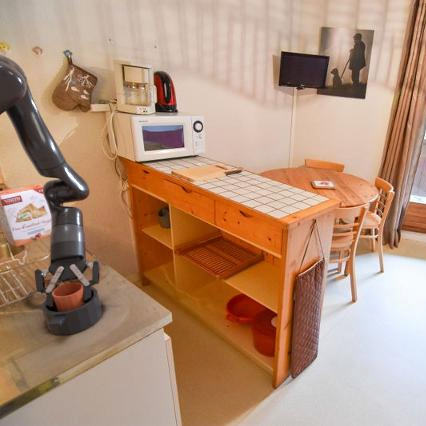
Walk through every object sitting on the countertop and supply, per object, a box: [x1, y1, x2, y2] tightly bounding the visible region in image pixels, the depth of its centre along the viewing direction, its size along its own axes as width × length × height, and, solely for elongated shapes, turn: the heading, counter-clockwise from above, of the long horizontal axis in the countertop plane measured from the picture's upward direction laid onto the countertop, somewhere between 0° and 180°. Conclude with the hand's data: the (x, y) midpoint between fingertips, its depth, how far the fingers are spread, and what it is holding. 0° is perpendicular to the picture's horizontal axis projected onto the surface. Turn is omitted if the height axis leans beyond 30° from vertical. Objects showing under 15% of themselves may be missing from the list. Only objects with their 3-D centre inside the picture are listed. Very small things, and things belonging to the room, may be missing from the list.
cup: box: [52, 281, 87, 312], centre depth 84 cm, size 6×6×9 cm
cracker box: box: [0, 183, 51, 248], centre depth 117 cm, size 14×6×21 cm, turn 154°
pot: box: [41, 282, 103, 337], centre depth 85 cm, size 12×17×7 cm
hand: (69, 304), depth 82 cm, fingers closed on cup, 6 cm apart
